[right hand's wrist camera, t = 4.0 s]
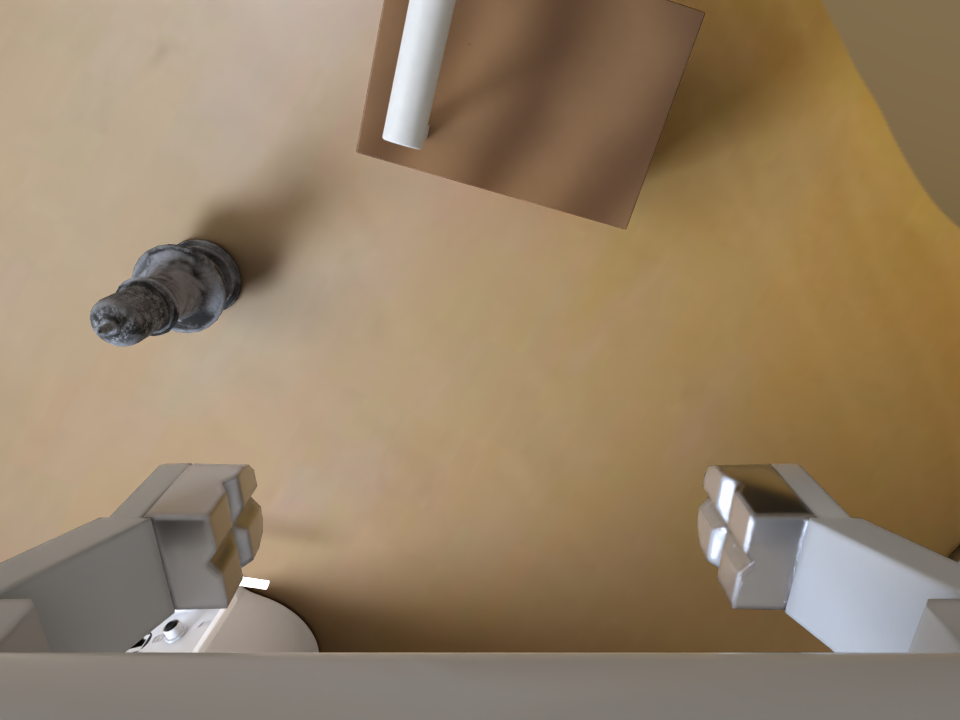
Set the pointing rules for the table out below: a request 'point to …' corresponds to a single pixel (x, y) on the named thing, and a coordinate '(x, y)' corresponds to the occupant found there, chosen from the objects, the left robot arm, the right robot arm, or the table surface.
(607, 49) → the lid
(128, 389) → the table surface
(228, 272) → the pewter chess piece
